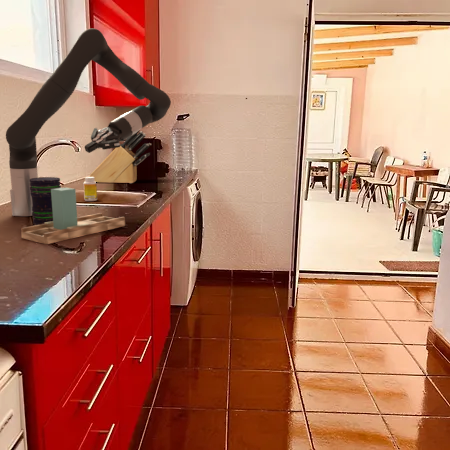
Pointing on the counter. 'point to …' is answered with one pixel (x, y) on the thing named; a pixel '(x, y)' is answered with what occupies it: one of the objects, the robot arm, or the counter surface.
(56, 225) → the teal block
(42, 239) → the box
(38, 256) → the counter surface
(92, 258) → the counter surface
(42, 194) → the navy cylinder
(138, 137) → the knife block
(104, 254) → the counter surface
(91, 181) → the supplement bottle
